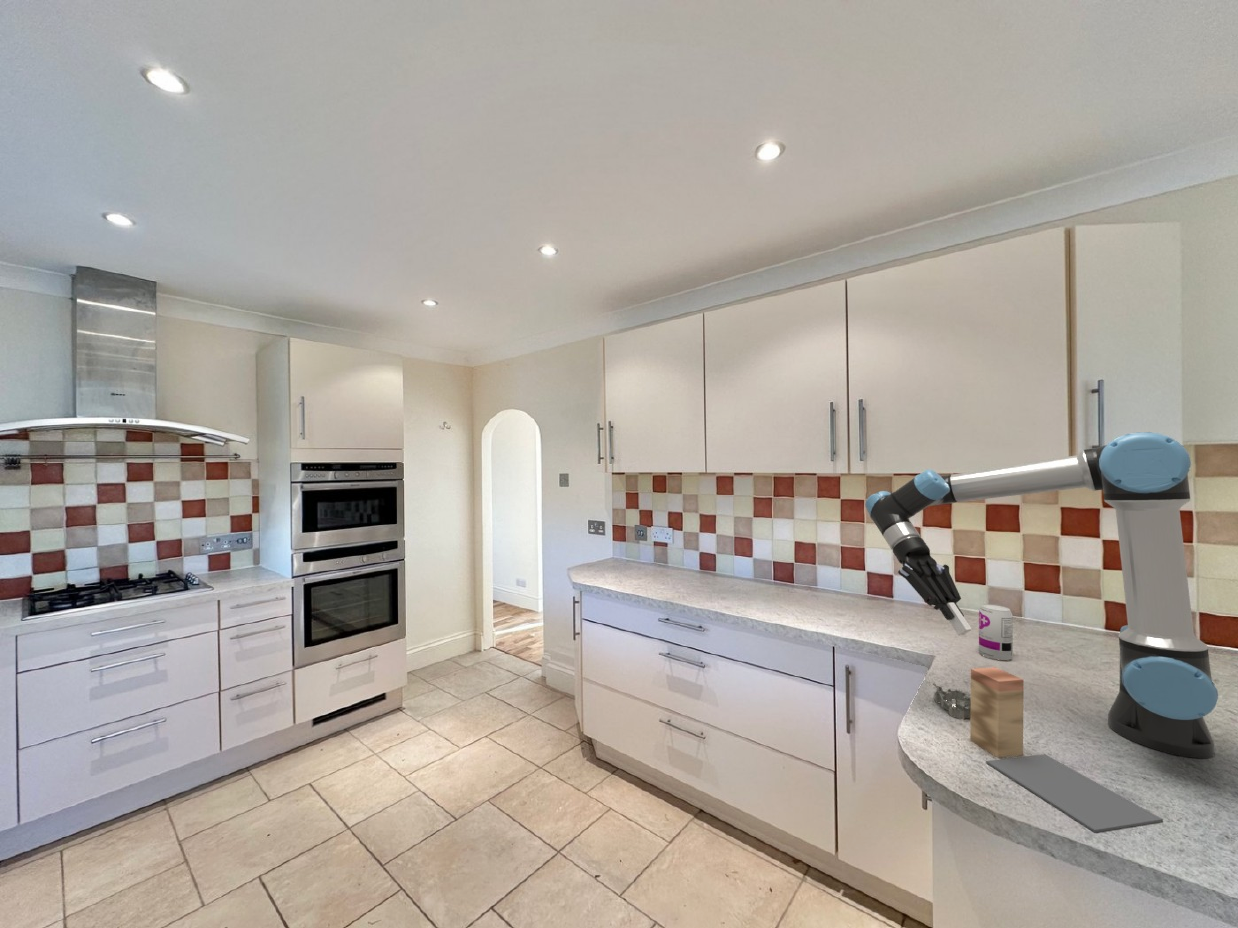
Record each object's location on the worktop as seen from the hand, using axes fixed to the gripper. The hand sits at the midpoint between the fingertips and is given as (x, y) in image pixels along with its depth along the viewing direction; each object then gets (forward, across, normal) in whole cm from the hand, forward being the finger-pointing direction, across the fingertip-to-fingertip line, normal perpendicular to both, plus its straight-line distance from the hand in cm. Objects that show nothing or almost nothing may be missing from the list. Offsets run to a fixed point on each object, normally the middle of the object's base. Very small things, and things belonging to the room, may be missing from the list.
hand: (965, 632), depth 105 cm
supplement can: (-9, -48, -39) cm, 62 cm away
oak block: (+20, 0, -10) cm, 22 cm away
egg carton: (+10, -7, -21) cm, 24 cm away
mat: (+29, 0, 0) cm, 29 cm away
